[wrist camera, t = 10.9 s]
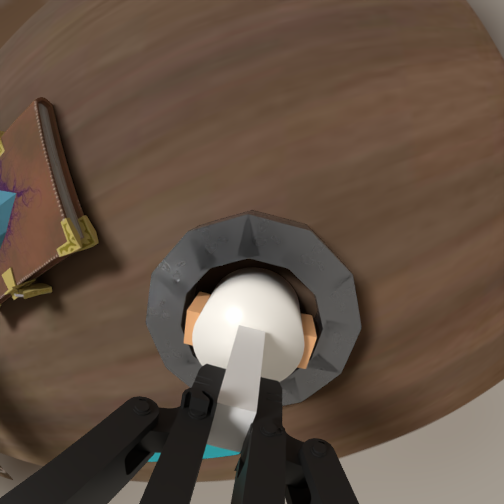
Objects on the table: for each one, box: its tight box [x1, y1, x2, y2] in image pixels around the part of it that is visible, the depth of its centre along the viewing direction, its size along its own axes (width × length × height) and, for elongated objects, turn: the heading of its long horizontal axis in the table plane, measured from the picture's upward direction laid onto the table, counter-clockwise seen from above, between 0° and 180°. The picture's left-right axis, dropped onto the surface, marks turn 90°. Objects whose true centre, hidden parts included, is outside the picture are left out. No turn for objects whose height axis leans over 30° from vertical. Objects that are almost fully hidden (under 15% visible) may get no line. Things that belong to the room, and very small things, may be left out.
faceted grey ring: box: [146, 210, 362, 406], centre depth 20 cm, size 14×14×3 cm
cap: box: [184, 267, 317, 382], centre depth 19 cm, size 8×7×5 cm
